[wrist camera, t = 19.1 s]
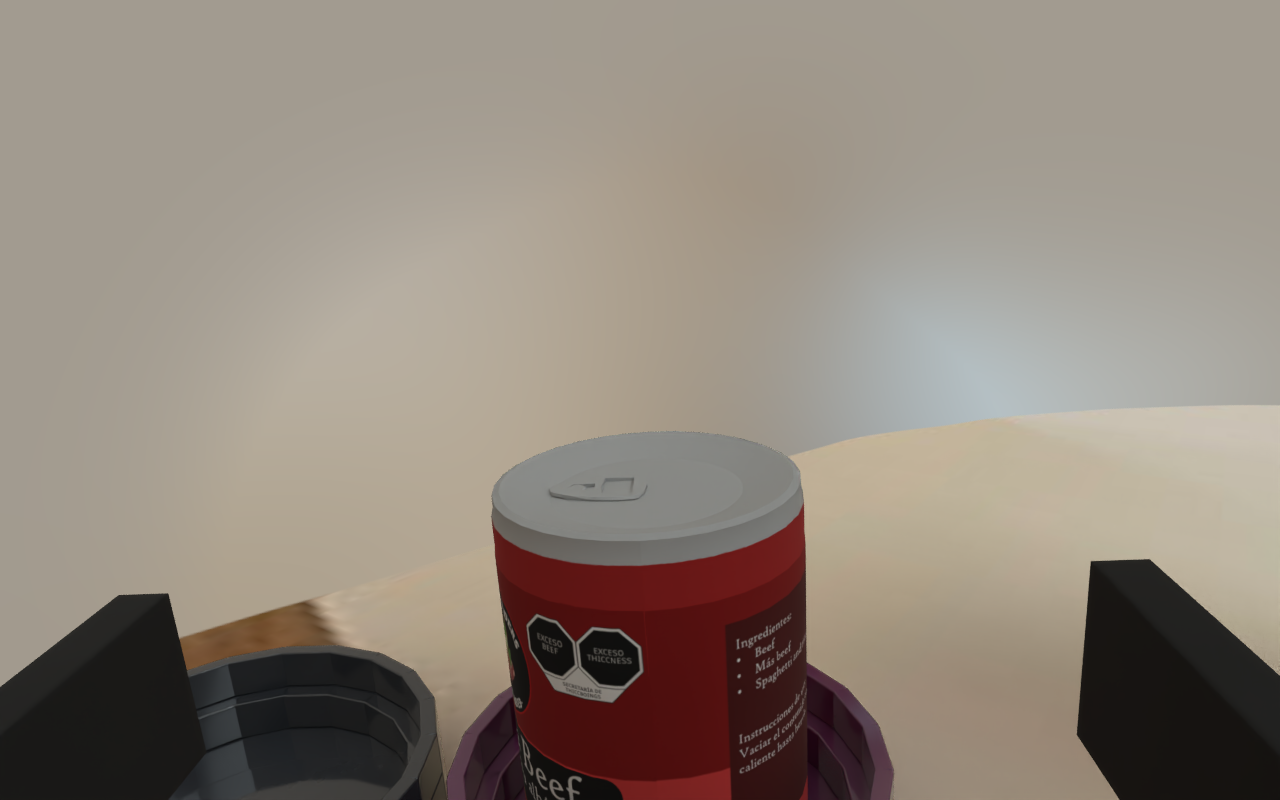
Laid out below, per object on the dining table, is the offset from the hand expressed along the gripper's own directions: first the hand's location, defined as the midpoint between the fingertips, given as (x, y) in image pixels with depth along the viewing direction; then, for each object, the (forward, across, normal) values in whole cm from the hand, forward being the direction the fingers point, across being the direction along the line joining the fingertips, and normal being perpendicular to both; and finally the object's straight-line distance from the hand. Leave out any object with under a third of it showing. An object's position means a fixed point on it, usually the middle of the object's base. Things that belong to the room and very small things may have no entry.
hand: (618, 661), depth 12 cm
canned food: (+10, 0, -12) cm, 16 cm away
